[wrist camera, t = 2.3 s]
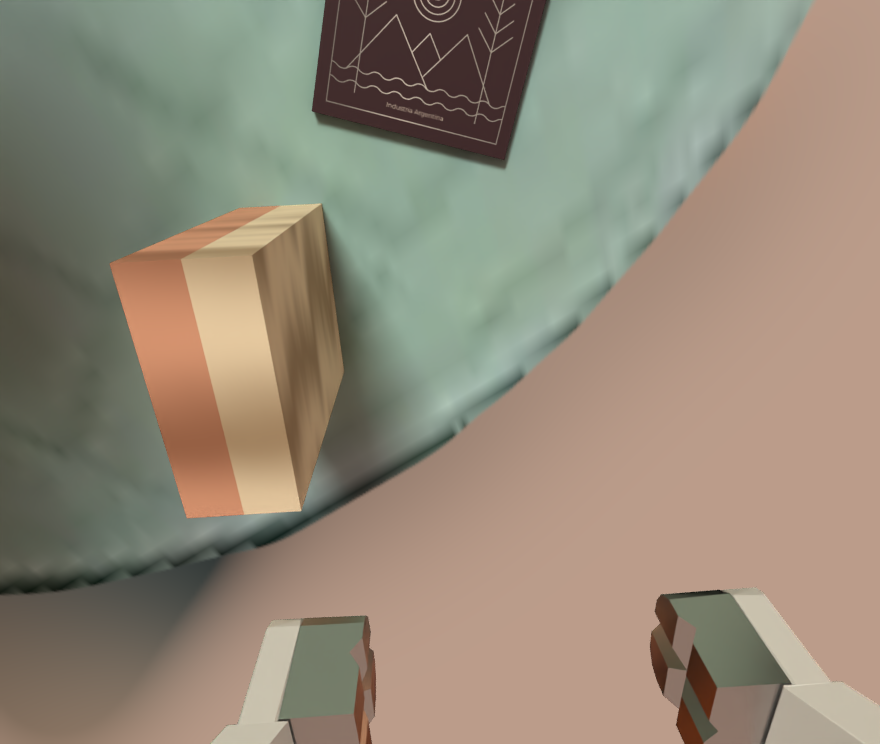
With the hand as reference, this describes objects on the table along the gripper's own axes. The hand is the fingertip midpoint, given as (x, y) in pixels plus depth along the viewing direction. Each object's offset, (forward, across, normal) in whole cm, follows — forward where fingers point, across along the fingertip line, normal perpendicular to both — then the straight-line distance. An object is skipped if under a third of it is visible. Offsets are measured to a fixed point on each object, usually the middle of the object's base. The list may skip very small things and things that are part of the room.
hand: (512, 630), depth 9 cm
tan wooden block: (+21, +8, 0) cm, 23 cm away
